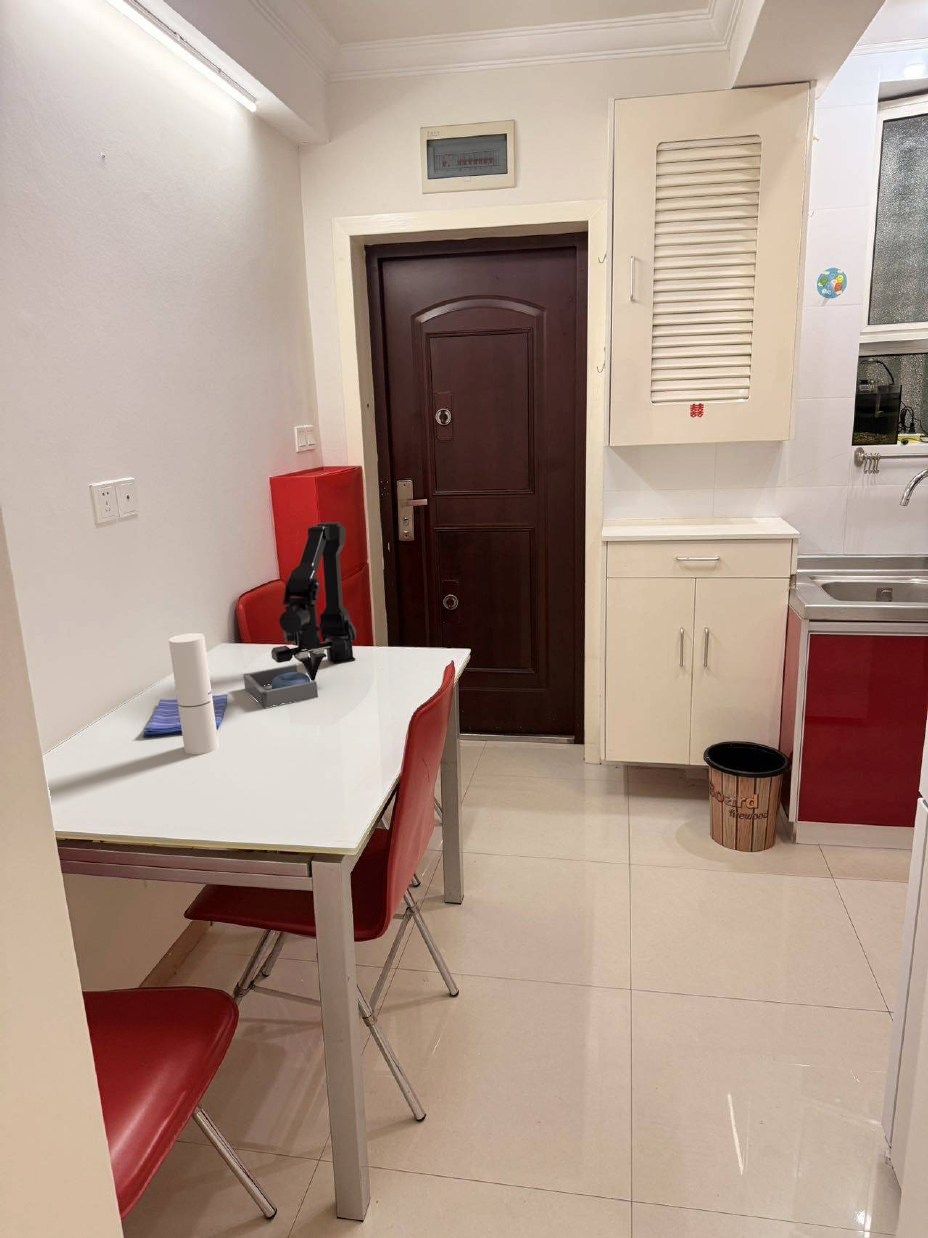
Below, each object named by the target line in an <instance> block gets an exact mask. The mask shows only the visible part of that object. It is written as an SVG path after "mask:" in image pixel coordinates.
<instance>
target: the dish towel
mask: <svg viewBox="0 0 928 1238" xmlns="http://www.w3.org/2000/svg"><path fill="white" fill-rule="evenodd" d="M228 697H229V696H228V694H219V695H212V699H213V707H214V714H215V722H216V729H217V730H219V728H220V726H221V723H222V721H223V717H224V714H225V710H226V706H227V702H228ZM144 730H145V731H144V732H143V734H142V737H143V738H146V739H148V738H149V739H150V738H159V737H168V736H177V735H182V728H181V722H180V715H179V708H178V701H177V699H165V698H163V699H159V701H158V704H157V706H156V710H155V711H154V713H153V715H152V717H151V719H150V720H149V722H148V723H147V725H146V726H145V727H144Z"/></svg>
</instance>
